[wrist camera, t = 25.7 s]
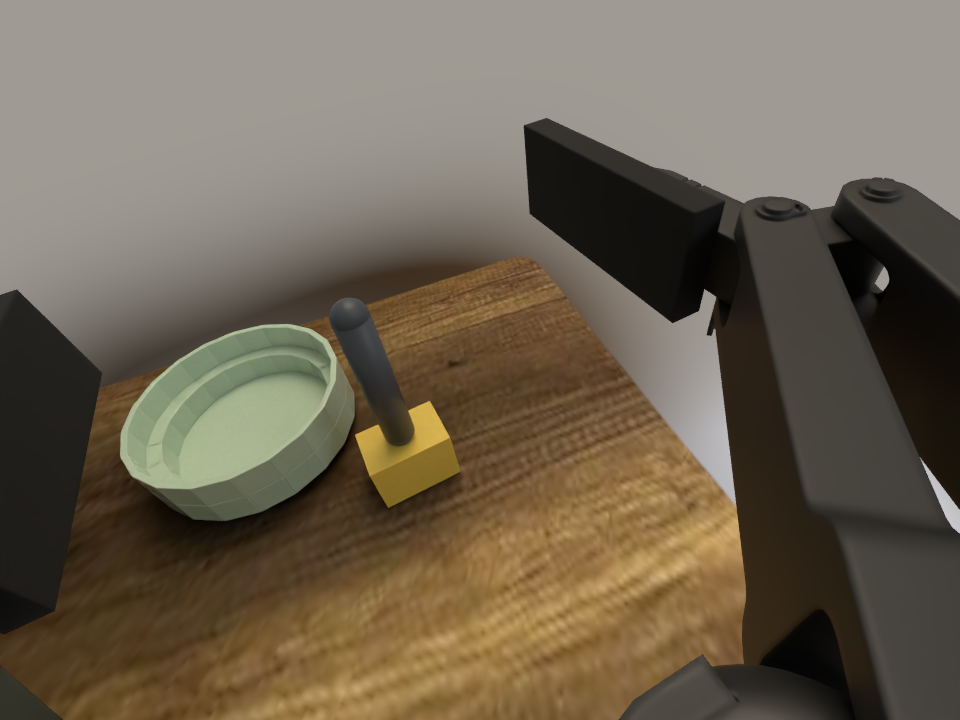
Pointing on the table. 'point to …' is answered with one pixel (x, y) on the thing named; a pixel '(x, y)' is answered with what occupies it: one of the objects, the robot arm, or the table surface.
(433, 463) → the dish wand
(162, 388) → the bowl
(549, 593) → the table surface
